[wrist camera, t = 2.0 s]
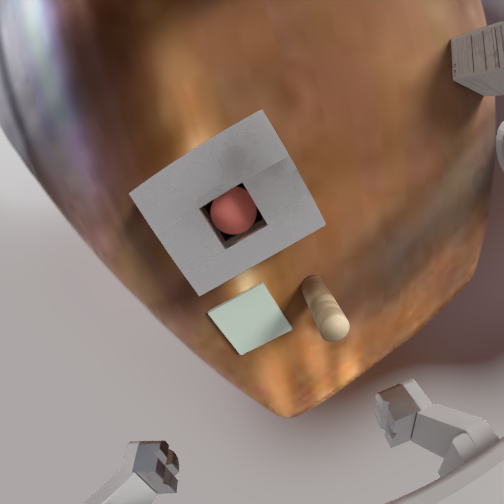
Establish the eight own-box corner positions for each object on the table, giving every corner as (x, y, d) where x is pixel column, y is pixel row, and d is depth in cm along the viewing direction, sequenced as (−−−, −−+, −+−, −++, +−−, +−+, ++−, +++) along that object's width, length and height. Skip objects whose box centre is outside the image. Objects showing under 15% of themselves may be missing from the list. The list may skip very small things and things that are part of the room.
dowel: (317, 271, 37) (343, 311, 28) (327, 289, 38) (353, 332, 29) (296, 282, 37) (315, 326, 28) (306, 300, 38) (327, 346, 29)
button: (240, 178, 31) (241, 180, 28) (262, 213, 32) (264, 219, 29) (204, 199, 31) (201, 204, 28) (226, 234, 32) (226, 242, 30)
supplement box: (482, 56, 27) (538, 46, 16) (484, 97, 30) (544, 95, 18) (449, 37, 27) (506, 17, 15) (450, 80, 29) (514, 70, 17)
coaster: (262, 281, 37) (262, 283, 36) (291, 327, 39) (292, 329, 39) (207, 310, 38) (207, 313, 37) (240, 352, 40) (240, 355, 40)
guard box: (256, 118, 31) (261, 109, 24) (308, 209, 34) (326, 224, 28) (149, 184, 32) (128, 193, 26) (205, 268, 36) (199, 296, 29)
